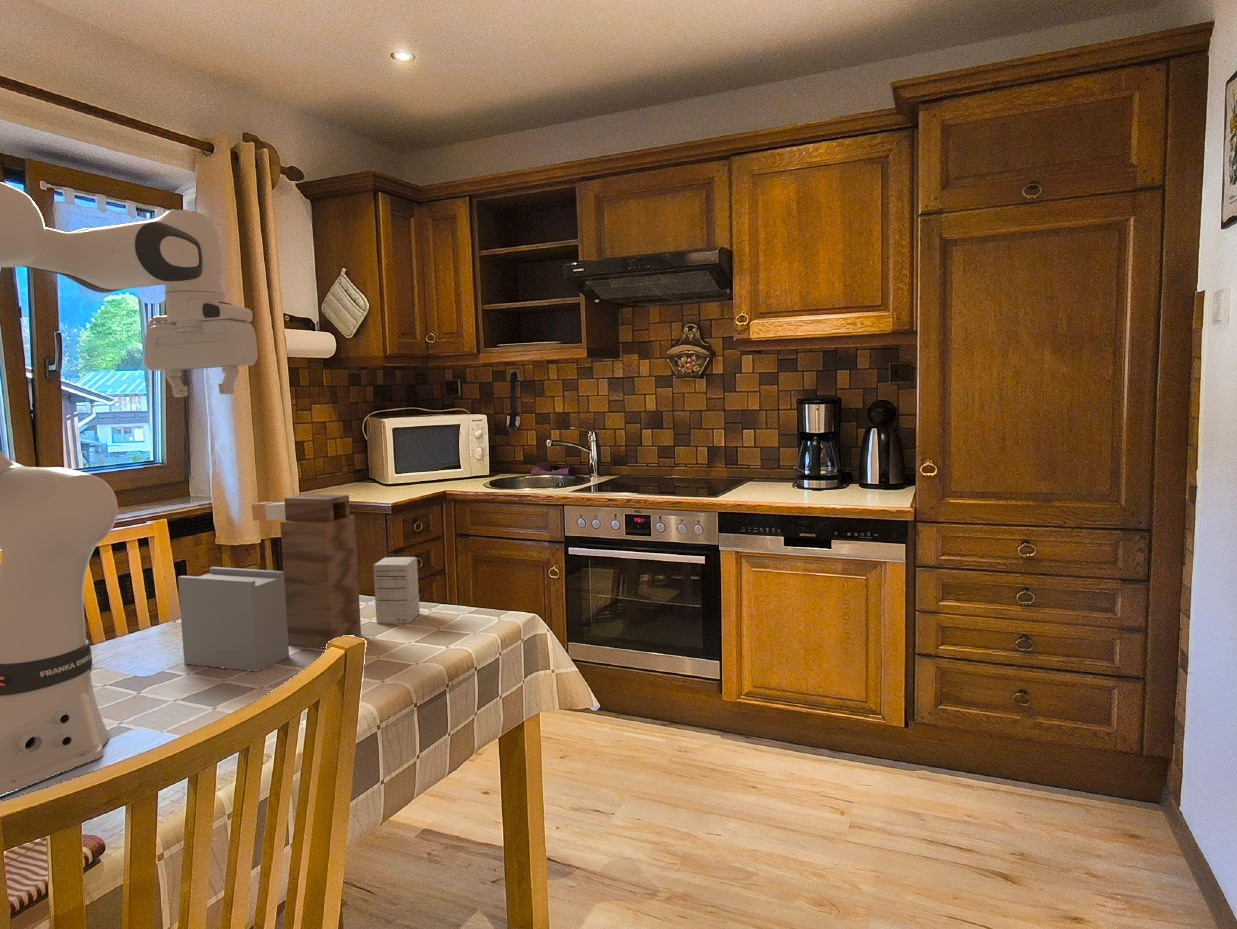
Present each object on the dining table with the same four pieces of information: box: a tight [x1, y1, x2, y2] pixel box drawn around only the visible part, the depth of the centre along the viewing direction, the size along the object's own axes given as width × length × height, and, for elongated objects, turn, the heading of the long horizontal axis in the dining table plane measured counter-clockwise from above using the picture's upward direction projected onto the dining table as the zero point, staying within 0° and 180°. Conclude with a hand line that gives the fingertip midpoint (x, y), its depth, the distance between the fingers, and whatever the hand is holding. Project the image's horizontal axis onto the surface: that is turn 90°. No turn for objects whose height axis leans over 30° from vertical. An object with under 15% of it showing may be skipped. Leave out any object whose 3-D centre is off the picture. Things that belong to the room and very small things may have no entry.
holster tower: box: [279, 493, 362, 650], centre depth 150 cm, size 9×10×28 cm
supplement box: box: [372, 556, 420, 624], centre depth 164 cm, size 7×7×13 cm
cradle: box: [177, 566, 290, 673], centre depth 139 cm, size 8×16×16 cm, turn 73°
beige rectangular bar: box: [250, 501, 286, 522], centre depth 151 cm, size 3×14×3 cm, turn 73°
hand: (203, 395), depth 130 cm, fingers open, 8 cm apart
